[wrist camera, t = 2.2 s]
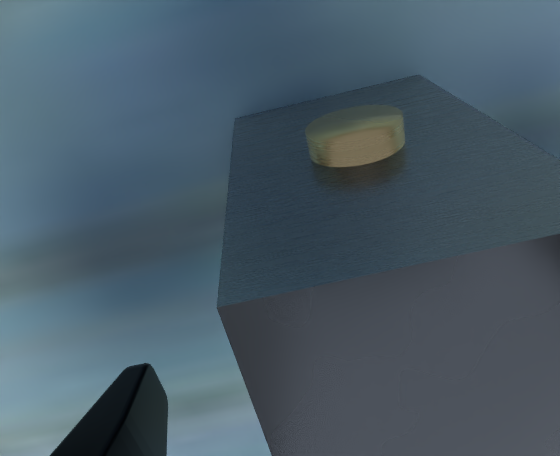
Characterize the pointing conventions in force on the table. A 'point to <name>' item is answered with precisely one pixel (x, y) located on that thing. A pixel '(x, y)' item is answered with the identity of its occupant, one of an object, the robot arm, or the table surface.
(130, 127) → the table surface
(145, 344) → the table surface
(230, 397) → the table surface
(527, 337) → the coupling block
